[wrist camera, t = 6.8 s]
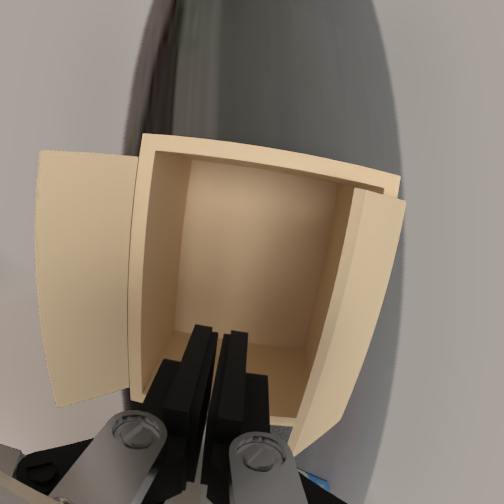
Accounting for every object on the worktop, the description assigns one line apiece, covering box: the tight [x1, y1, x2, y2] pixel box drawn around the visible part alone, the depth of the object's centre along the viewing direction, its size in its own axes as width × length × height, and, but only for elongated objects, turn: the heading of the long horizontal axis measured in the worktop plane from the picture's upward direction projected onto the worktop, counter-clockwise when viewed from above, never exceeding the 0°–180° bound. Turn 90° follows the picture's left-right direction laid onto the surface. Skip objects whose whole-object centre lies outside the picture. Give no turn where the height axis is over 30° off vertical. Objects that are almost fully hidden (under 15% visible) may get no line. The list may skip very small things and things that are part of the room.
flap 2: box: [287, 188, 406, 457], centre depth 14 cm, size 5×14×1 cm
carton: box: [128, 133, 401, 426], centre depth 21 cm, size 16×13×10 cm
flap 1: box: [35, 150, 138, 408], centre depth 14 cm, size 5×14×1 cm
